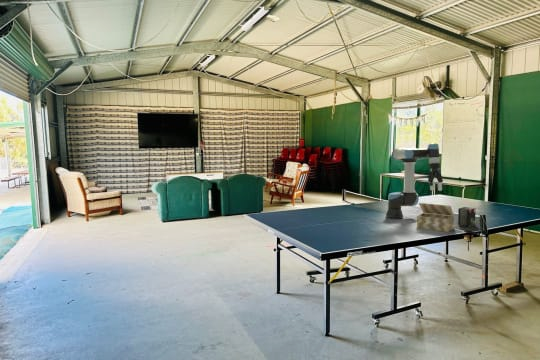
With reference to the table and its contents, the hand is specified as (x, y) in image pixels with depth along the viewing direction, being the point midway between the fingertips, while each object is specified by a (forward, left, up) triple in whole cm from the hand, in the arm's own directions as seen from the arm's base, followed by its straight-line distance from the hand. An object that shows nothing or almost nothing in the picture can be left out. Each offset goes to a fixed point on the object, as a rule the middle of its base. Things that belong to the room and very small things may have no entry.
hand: (436, 190), depth 274 cm
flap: (-3, +11, -17) cm, 21 cm away
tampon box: (+14, +33, -32) cm, 48 cm away
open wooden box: (-3, +9, -32) cm, 34 cm away
